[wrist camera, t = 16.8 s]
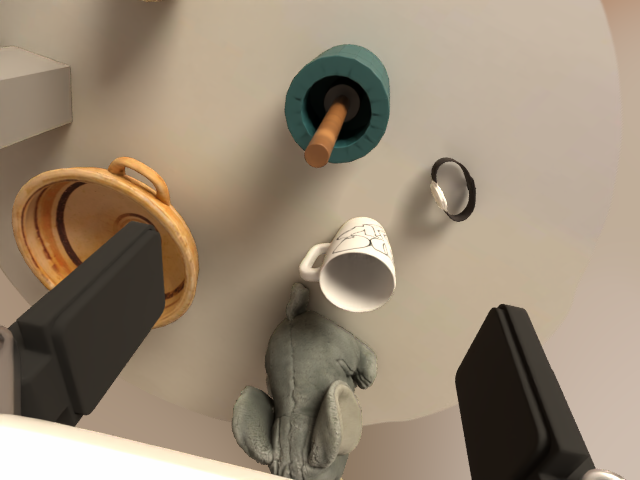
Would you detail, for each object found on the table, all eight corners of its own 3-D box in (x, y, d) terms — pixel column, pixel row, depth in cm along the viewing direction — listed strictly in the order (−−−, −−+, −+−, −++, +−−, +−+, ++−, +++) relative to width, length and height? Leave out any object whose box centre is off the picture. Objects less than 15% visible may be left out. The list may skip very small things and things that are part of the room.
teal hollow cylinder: (312, 36, 40) (291, 46, 32) (399, 53, 40) (401, 67, 31) (300, 124, 45) (280, 152, 36) (378, 139, 44) (375, 172, 36)
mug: (315, 267, 55) (301, 315, 46) (302, 214, 51) (284, 256, 42) (398, 261, 52) (399, 311, 44) (391, 204, 48) (391, 247, 40)
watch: (421, 162, 45) (423, 174, 42) (462, 147, 43) (468, 158, 40) (441, 218, 48) (444, 233, 45) (480, 205, 47) (487, 220, 43)
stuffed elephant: (346, 404, 69) (324, 602, 46) (242, 349, 66) (164, 533, 43) (414, 344, 60) (430, 558, 37) (296, 276, 56) (232, 464, 33)
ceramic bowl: (179, 328, 66) (155, 365, 59) (41, 254, 62) (-2, 285, 55) (255, 197, 51) (235, 228, 44) (79, 89, 47) (26, 104, 40)
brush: (332, 72, 41) (292, 122, 24) (366, 79, 41) (349, 133, 24) (327, 107, 43) (285, 176, 26) (359, 113, 43) (339, 187, 26)
